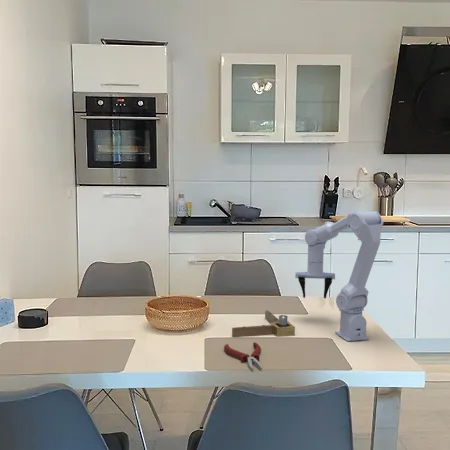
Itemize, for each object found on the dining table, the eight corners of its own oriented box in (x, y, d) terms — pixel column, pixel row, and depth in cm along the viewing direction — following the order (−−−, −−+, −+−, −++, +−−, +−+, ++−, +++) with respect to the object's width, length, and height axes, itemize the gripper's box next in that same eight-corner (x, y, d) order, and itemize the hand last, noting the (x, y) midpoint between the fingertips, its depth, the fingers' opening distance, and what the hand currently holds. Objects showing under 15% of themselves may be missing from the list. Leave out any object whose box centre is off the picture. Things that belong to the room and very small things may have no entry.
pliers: (238, 375, 154) (238, 366, 154) (222, 350, 173) (222, 342, 173) (276, 372, 156) (276, 363, 156) (257, 348, 176) (257, 340, 176)
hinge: (294, 335, 188) (294, 326, 187) (234, 339, 183) (234, 330, 182) (274, 317, 208) (274, 309, 208) (220, 321, 203) (220, 312, 203)
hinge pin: (288, 334, 189) (288, 317, 188) (279, 334, 188) (280, 317, 188) (285, 331, 192) (286, 314, 191) (277, 331, 191) (277, 315, 191)
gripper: (334, 260, 204) (333, 295, 205) (295, 259, 205) (294, 294, 207) (336, 263, 197) (334, 300, 198) (295, 262, 198) (295, 298, 200)
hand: (314, 297), depth 202 cm, fingers open, 7 cm apart
